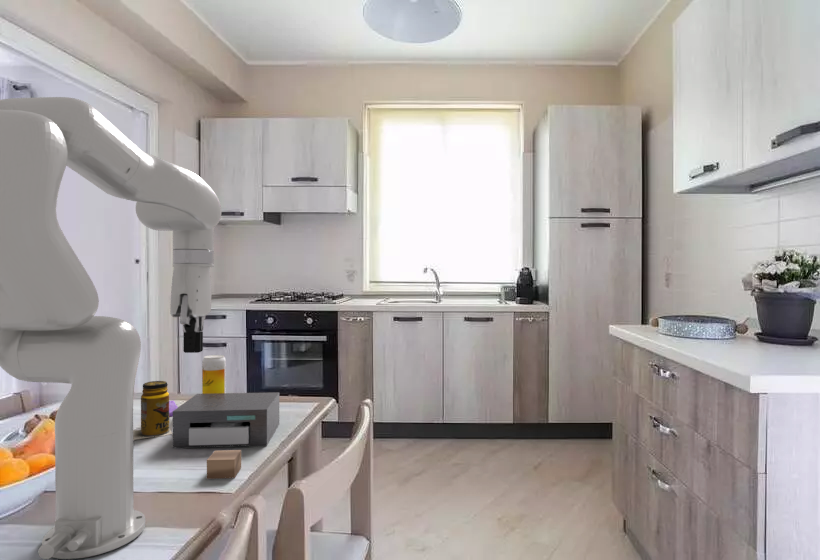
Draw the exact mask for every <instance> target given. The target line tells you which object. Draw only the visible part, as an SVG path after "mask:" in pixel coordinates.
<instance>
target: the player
mask: <svg viewBox="0 0 820 560" xmlns="http://www.w3.org/2000/svg"><path fill="white" fill-rule="evenodd" d="M177 407H178V408H177V409H175V410H174V411H173V416H172V433H173V434H172V449H185V448H186V449H188V448H189V449H193V448H194V449H195V448H196V449H197V448H225V447H227V448H229V447H266V446H268V445H269V443H270V441H271V439H272V437H273V436H274V434H275V432H276V431H277V429H278V427H279V425H280V392H226V393H214V394H202V393H196V394H195V395H194V396H192V397H191V398H189V399H188V400H187V401H185V402H184V403H182V404H181V405H179V406H177ZM210 422H250V440H249V443H248V444H223V445H189V429H190V428H202V427H204V426H205V425H206V424H207V423H210Z"/></svg>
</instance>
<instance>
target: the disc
mask: <svg viewBox="0 0 820 560" xmlns="http://www.w3.org/2000/svg"><path fill="white" fill-rule="evenodd" d="M211 427H243V422H211Z"/></svg>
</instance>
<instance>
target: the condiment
mask: <svg viewBox="0 0 820 560" xmlns="http://www.w3.org/2000/svg"><path fill="white" fill-rule="evenodd" d="M168 385H169V384H168V382H167V381H166V380H152V381H147V382H144V383H143V384H142V390H141V391H142V394H141V396H140V429H138V430H137V429H133V441H135V440H142V439H147V438H148V439H150V438H157V437H164V436H170V435H173V430H171V428H170V417H169V401H170V393H169V392H168ZM154 436H155V437H154Z"/></svg>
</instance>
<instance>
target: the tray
mask: <svg viewBox="0 0 820 560" xmlns="http://www.w3.org/2000/svg"><path fill="white" fill-rule="evenodd" d="M249 440H250V422H243V427H211V422H210V423H207V424H206V425H205V426H204V427H202V428H190V429H189V445H223V444H248V443H249Z"/></svg>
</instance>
